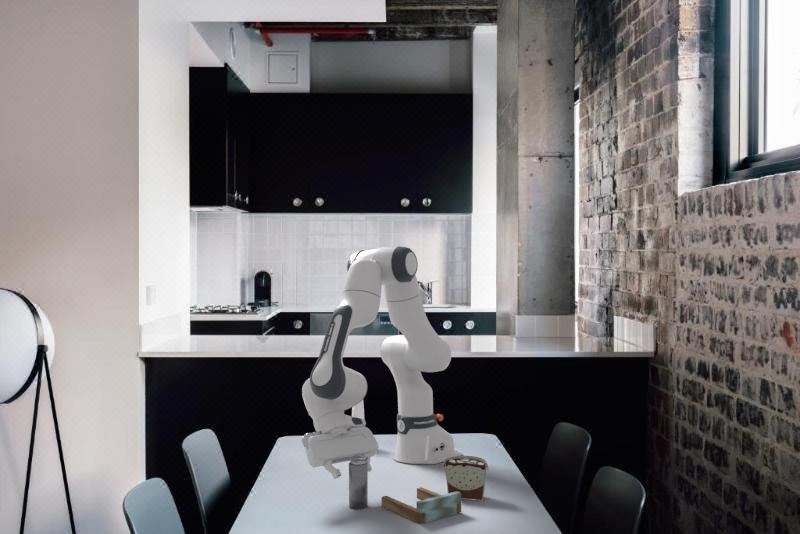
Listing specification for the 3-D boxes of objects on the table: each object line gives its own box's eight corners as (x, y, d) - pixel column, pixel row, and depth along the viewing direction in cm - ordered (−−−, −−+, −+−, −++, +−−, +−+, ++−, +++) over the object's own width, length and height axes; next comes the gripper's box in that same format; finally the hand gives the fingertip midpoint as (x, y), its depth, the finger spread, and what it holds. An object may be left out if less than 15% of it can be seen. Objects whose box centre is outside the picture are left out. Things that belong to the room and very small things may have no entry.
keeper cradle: (421, 496, 199) (421, 477, 198) (461, 512, 186) (461, 492, 186) (381, 506, 191) (381, 487, 191) (420, 523, 178) (420, 503, 178)
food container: (493, 494, 200) (493, 457, 200) (488, 501, 194) (488, 463, 194) (449, 489, 204) (448, 453, 204) (442, 496, 198) (442, 459, 198)
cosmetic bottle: (370, 446, 252) (370, 381, 252) (357, 449, 248) (356, 383, 248) (359, 443, 257) (358, 379, 256) (345, 446, 253) (345, 381, 252)
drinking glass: (360, 501, 195) (360, 457, 194) (371, 506, 191) (371, 461, 191) (345, 505, 192) (345, 460, 192) (355, 510, 188) (355, 464, 188)
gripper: (303, 427, 192) (323, 473, 184) (369, 418, 204) (390, 461, 196) (295, 441, 196) (314, 487, 188) (360, 431, 208) (380, 474, 200)
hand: (353, 474), depth 192 cm, fingers open, 8 cm apart
